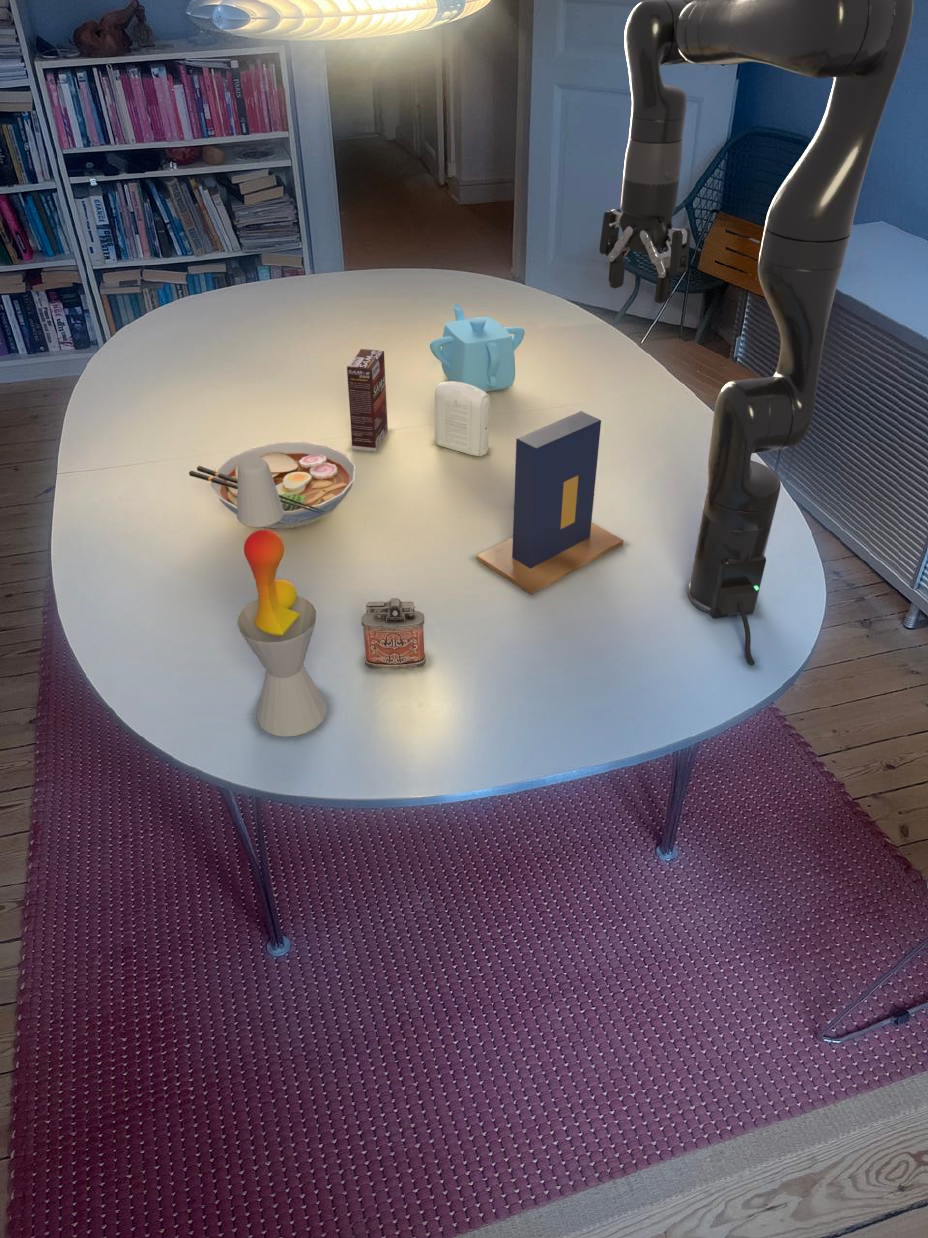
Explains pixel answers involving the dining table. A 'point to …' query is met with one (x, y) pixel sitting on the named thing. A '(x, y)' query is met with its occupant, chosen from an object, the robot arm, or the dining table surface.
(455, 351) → the teapot
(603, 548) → the cork mat
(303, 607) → the lava lamp
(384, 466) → the dining table surface
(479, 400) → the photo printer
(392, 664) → the lighter
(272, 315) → the dining table surface
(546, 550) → the book
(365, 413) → the supplement box
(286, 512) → the ramen bowl
